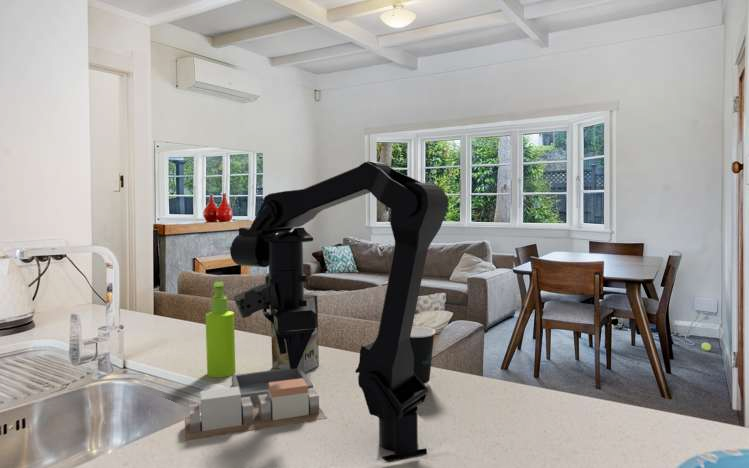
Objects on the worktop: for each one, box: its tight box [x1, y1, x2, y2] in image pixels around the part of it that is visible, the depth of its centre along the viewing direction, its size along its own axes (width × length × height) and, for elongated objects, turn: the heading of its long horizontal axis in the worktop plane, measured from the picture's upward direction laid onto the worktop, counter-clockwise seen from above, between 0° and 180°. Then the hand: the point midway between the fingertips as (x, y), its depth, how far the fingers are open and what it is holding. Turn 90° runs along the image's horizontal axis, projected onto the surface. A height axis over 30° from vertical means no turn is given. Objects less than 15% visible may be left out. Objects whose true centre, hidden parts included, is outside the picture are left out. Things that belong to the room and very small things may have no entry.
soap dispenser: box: [205, 281, 236, 379], centre depth 112 cm, size 6×7×20 cm
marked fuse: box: [268, 378, 309, 420], centre depth 88 cm, size 4×6×5 cm, turn 110°
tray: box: [231, 367, 314, 406], centre depth 99 cm, size 12×14×3 cm
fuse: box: [200, 386, 242, 431], centre depth 84 cm, size 4×6×5 cm, turn 110°
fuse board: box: [184, 387, 328, 442], centre depth 86 cm, size 9×22×4 cm, turn 110°
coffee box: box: [270, 293, 320, 373], centre depth 116 cm, size 9×6×16 cm
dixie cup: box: [410, 325, 436, 388], centre depth 104 cm, size 8×8×11 cm
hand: (288, 360), depth 88 cm, fingers open, 9 cm apart
